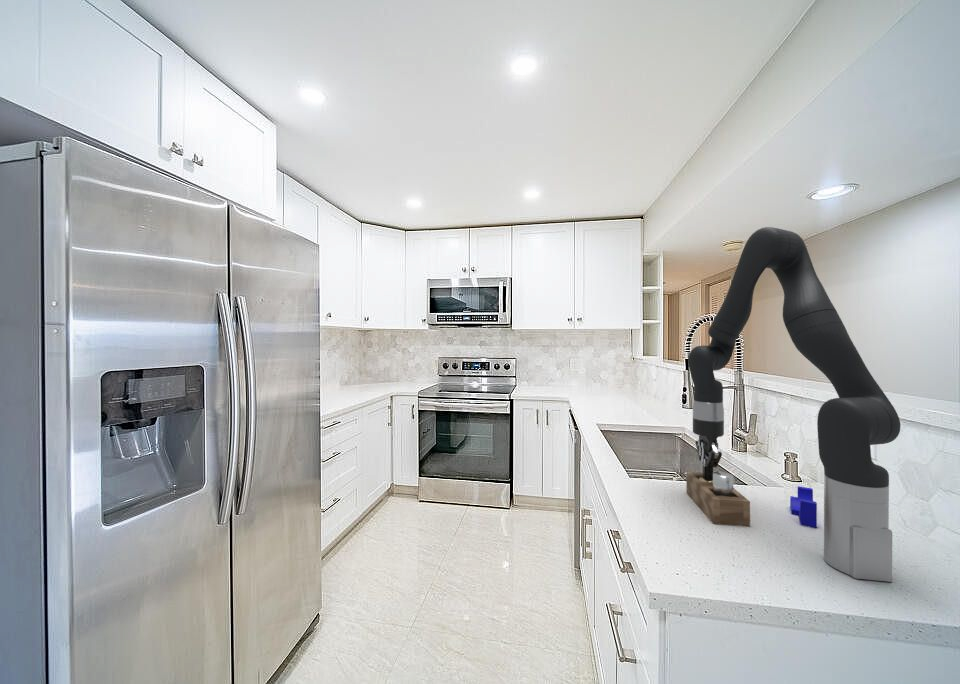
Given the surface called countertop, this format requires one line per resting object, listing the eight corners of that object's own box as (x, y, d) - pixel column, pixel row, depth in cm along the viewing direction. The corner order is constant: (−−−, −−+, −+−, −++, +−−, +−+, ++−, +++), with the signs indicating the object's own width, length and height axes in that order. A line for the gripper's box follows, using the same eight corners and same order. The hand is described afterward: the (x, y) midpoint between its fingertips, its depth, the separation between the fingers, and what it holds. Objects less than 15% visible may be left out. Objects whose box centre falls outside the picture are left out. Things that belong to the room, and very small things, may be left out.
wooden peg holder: (750, 526, 95) (750, 501, 95) (713, 523, 96) (713, 499, 96) (716, 494, 115) (716, 473, 115) (686, 492, 116) (686, 472, 116)
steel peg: (736, 500, 98) (736, 478, 98) (717, 499, 99) (717, 477, 99) (728, 493, 102) (728, 472, 102) (710, 492, 103) (710, 471, 103)
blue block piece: (790, 507, 106) (790, 484, 106) (812, 511, 104) (812, 488, 104) (792, 524, 97) (792, 499, 97) (816, 529, 94) (816, 503, 94)
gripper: (733, 422, 103) (733, 489, 103) (713, 413, 116) (713, 472, 116) (702, 421, 105) (701, 487, 105) (685, 412, 118) (685, 470, 118)
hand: (707, 479), depth 111 cm, fingers closed
